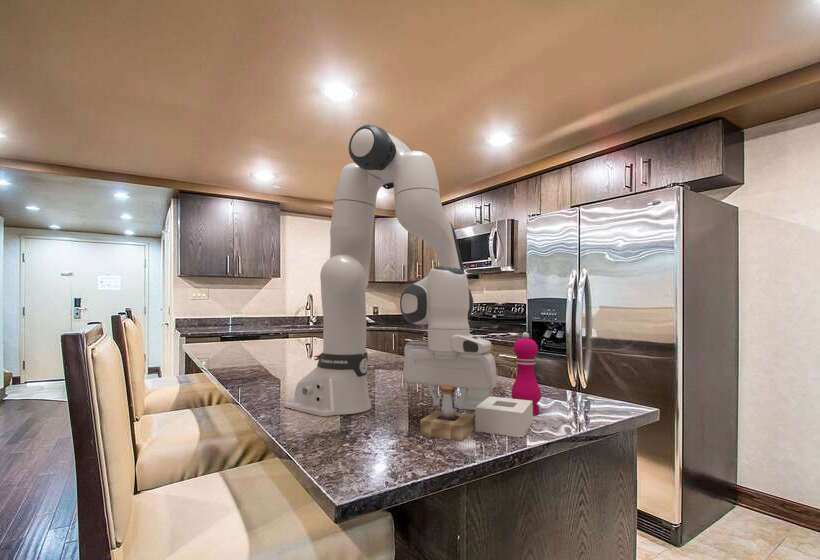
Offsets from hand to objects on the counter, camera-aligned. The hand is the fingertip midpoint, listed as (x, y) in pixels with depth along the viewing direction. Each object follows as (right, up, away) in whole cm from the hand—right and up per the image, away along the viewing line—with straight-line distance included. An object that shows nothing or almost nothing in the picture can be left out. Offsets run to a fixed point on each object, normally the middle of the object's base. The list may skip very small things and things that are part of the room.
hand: (448, 407), depth 90 cm
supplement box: (+9, -7, +22) cm, 25 cm away
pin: (0, -5, 0) cm, 5 cm away
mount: (0, -5, 0) cm, 5 cm away
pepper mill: (+21, -6, +16) cm, 27 cm away
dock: (+13, -5, +4) cm, 14 cm away
